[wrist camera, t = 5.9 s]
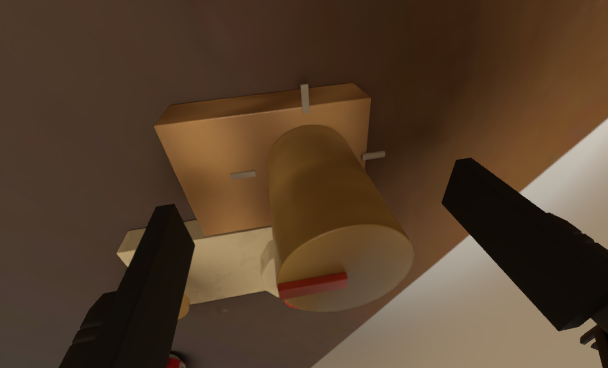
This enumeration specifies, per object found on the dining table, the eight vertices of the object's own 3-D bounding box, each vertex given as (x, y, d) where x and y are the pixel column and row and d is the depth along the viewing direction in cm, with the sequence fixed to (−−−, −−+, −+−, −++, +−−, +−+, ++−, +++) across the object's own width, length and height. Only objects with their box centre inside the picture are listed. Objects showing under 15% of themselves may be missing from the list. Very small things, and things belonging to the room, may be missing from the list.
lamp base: (336, 197, 21) (351, 232, 18) (335, 257, 26) (347, 293, 22) (128, 230, 19) (103, 276, 16) (169, 287, 24) (156, 331, 21)
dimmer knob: (352, 119, 14) (435, 220, 7) (348, 191, 17) (405, 306, 10) (260, 130, 13) (266, 249, 7) (273, 202, 16) (285, 330, 10)
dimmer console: (372, 60, 15) (396, 73, 12) (362, 184, 21) (377, 210, 18) (161, 85, 14) (141, 104, 11) (210, 208, 19) (204, 239, 17)
